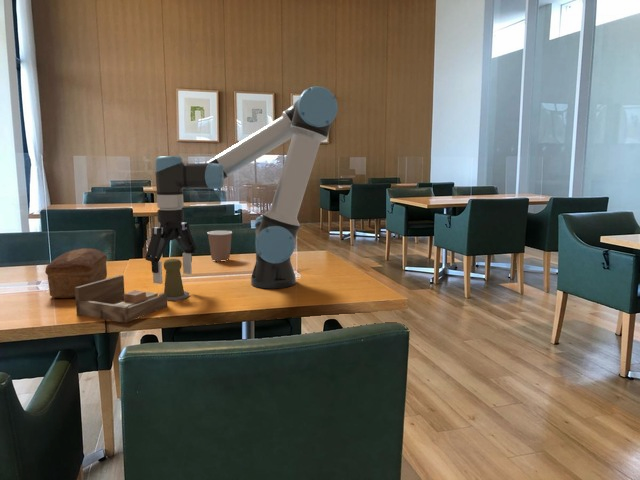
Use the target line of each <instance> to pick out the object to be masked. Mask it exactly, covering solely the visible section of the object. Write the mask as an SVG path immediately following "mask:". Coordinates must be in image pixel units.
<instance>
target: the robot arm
mask: <svg viewBox="0 0 640 480" xmlns="http://www.w3.org/2000/svg"><path fill="white" fill-rule="evenodd" d="M338 108H339V106H338V100H337V99H336V95H334V93H333V92H332V91H331V90H329V89H328V88H326V87H323V86H319V85H318V86H317V85H316V86H315V85H314V86H311V87H308V88H306V89H304V90H303V91H302V92H301V93H300V95H299V96H298V98H297V100H296V101H295V102H294V103H292V105H291V106H289V107H288V108H287V109H285V110H284V111H282V114H281V115H280V117H278V118H276V119H275V120H273V121H272V122H270V123H268V124H266V125H265V126H263V127H262V128H260V129H259V130H257V131H255V132H253V133H252V134H250V135H249V136H247V137H245V138H243V139H242V140H240V141H238V142H236V143H235V144H233V145H232V146H231V147H228V148H227V149H225V150H223V151H222V152H221V153H219V154H217V155H215V156H213V157H212V158H211V159H209V160H207V161H205V162H202V163H199V162H195V163H188V162H187V163H186V162H183V160H182V156H175V155H174V156H171V155H170V156H169V155H167V156H165V155H164V156H162V155H161V156H158V157H156V159H155V172H154V173H155V174H154V175H155V185H156V187H155V189H156V202H157V203H156V207H157V208H158V209H157V211H156V213H157V221H158V223H160V226H159V227H158V226H153V227H152V229H151V237H150V240H149V244H148V247H147V250H146V254H145V255H146V256H145V260H146V261H148V262H151V273H152V277H153V278H152V279H153V281H152V282H153V284H159V285H161V284H163V282H164V281H163V268H162V267H163V265H162V263H163V262H162V261H161V258H162V256H163V254H164V252H165V249H166V248H167V245H168V244H169V243H170V242H171V241H173V240H176V242H177V243H178V245H179V246H180V248H181V249H182V251H183V253H182V273H183V274H185V275H186V274H187V275H192V272H193V270H192V266H193V265H192V262H193V257H192V255H193V254H195V253H196V252H195V251H196V250H197V246H196V244H195V240H194V238H193V235H192V233H191V231H190V230H191V229H190V224H189V222H184V220H185V212H184V209H183V208H184V206H185V205H184V190H185V189H194V190H195V189H199V190H200V189H201V190H203V189H204V190H205V189H207V190H208V189H209V190H215V189H217V190H218V189H222V188H223V187H224V180H225V179H226V178H228V177H230V176H231V175H233V174H235V173H236V172H238V171H239V170H241V169H243V168H245V167H246V166H248V165H250V164H251V163H253V162H255V161H256V160H258V159H260V158H261V157H263V156H264V155H266V154H268V153H269V152H271V151H273V150H274V149H276V148H278V147H279V146H281V145H282V144H285V143H286V142H288V141H289V140H290V143H289V146H288V150H287V152H286V157H285V160H284V163H283V166H282V169H281V172H280V176H279V180H278V182H277V183H278V184H277V185H276V189H275V192H274V196H273V199H272V203H271V206H270V209H269V210H267V211H266V212H263V215H262V216H257V217H256V218H255V224H254V227H255V240H254V241H255V242H254V244H255V245H254V248H255V264H254V266H253V270H252V273H251V277H250V285H251V286H253V287H256V288H259V289H284V288H290V287H292V286H295V285H296V274H295V271H294V268H293V266H292V265H293V264H292V262H291V257H292V255H293V253H294V251H295V249H296V239H297V235H298V232H299V230H300V229H299V228H300V226H301V224H300V222H299V220H298V216H299V212H300V209H301V205H302V203H303V198H304V196H305V193H306V189H307V186H308V183H309V180H310V177H311V173H312V171H313V167H314V164H315V160H316V158H317V154H318V151H319V149H320V145H321V143H322V142H324V141H325V140H327V139H328V137H329V136H328V135H329V133H330V130H331V127H332V123H333V122H334V121H335V118H337V117H336V116H337V115H338V110H339V109H338Z"/></svg>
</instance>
